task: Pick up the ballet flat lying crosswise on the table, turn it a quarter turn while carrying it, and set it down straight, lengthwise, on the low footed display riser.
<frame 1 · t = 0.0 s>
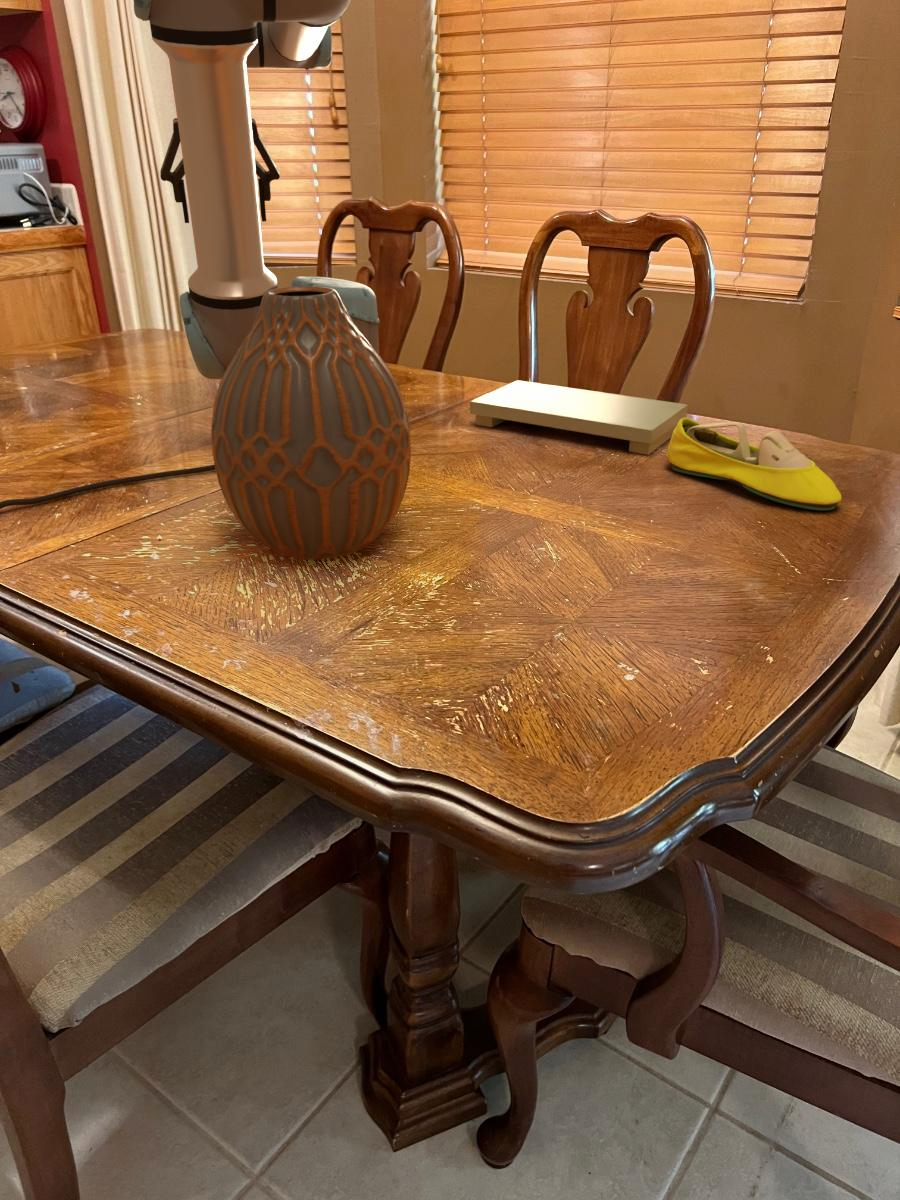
hand: (225, 219, 156), 28 cm above the table, tool tilted 20°, fingers open, 13 cm apart
vase: (320, 539, 99), on the table
low footed display riser: (576, 427, 136), on the table
ballet flat: (744, 488, 113), on the table
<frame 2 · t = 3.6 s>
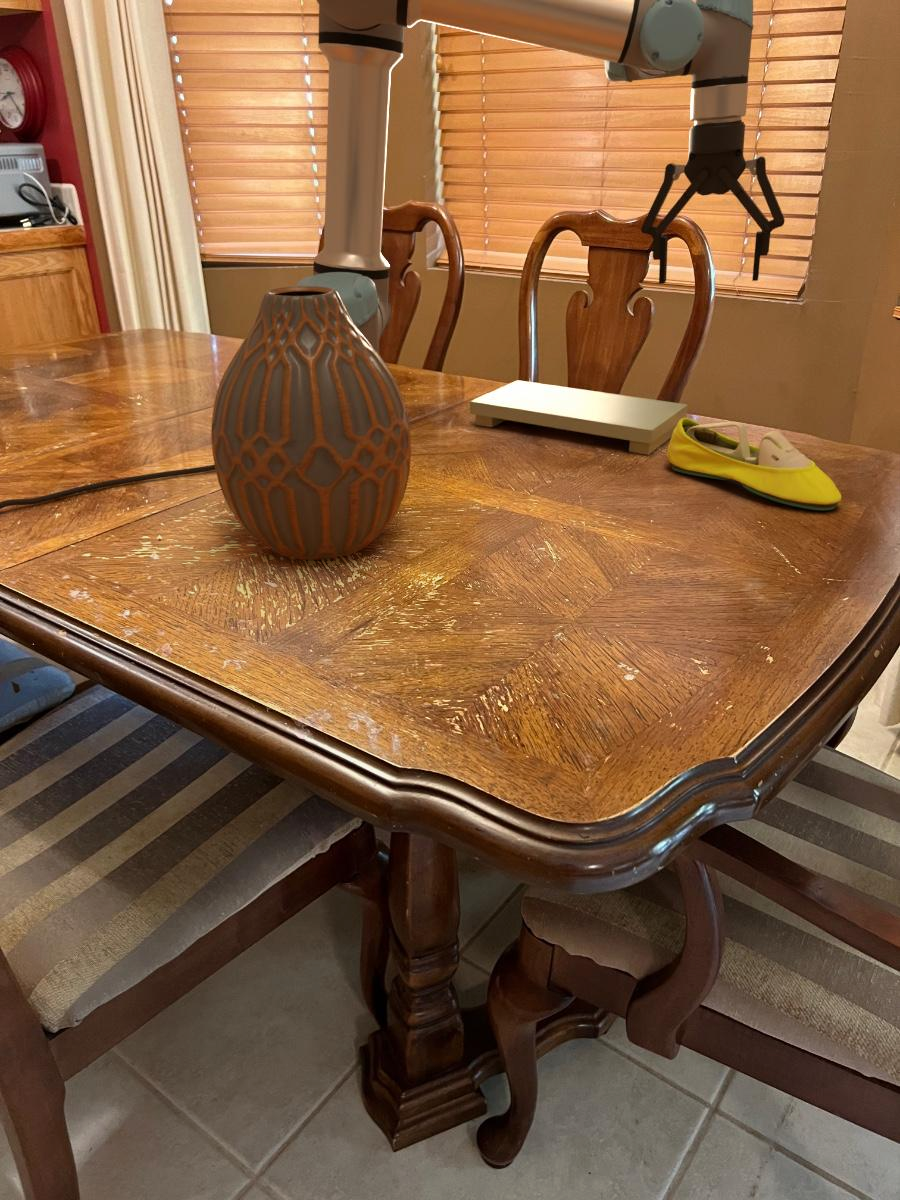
hand: (708, 281, 131), 21 cm above the table, tool pointing down, fingers open, 13 cm apart
nothing on the table moved.
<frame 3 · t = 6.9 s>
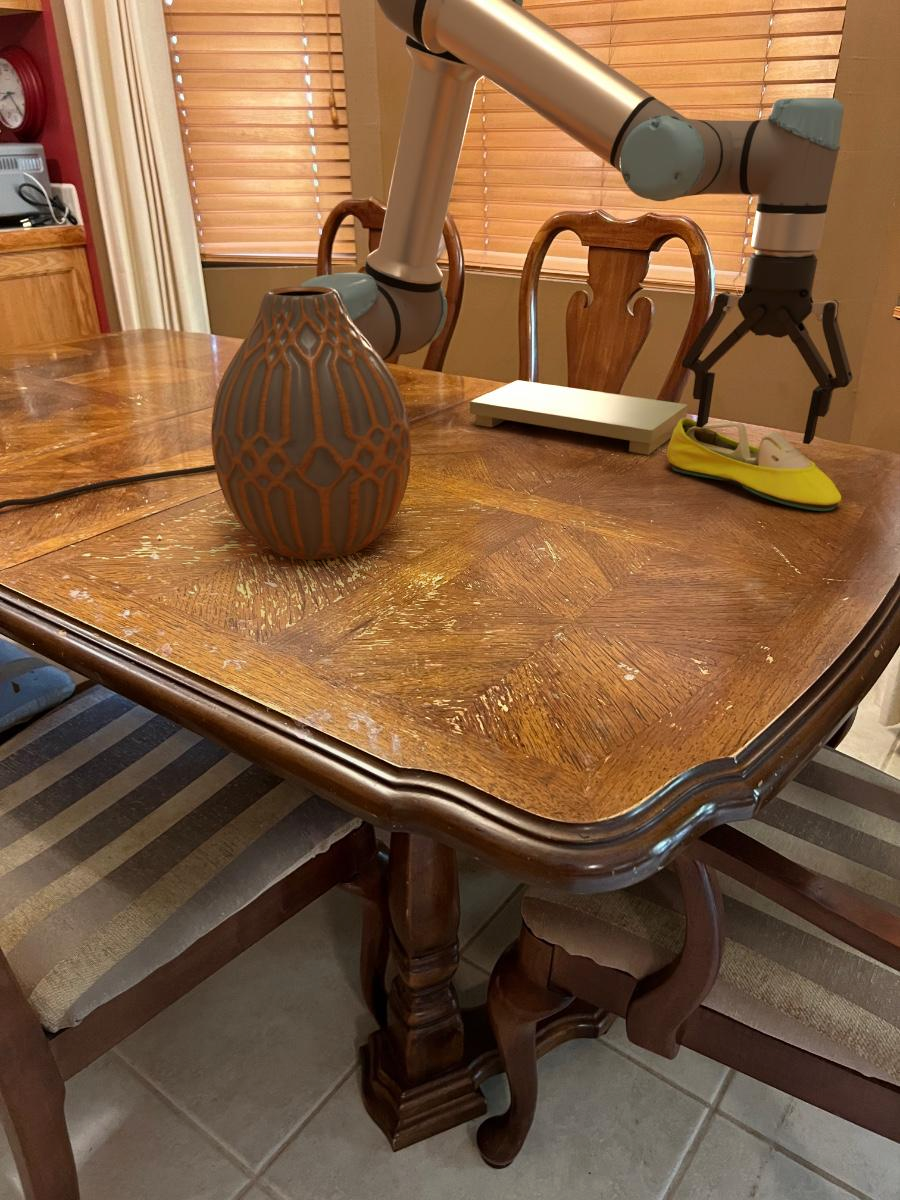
hand: (753, 432, 109), 7 cm above the table, tool pointing down, fingers open, 13 cm apart
ballet flat: (744, 489, 113), on the table, touching gripper
everything else where it was.
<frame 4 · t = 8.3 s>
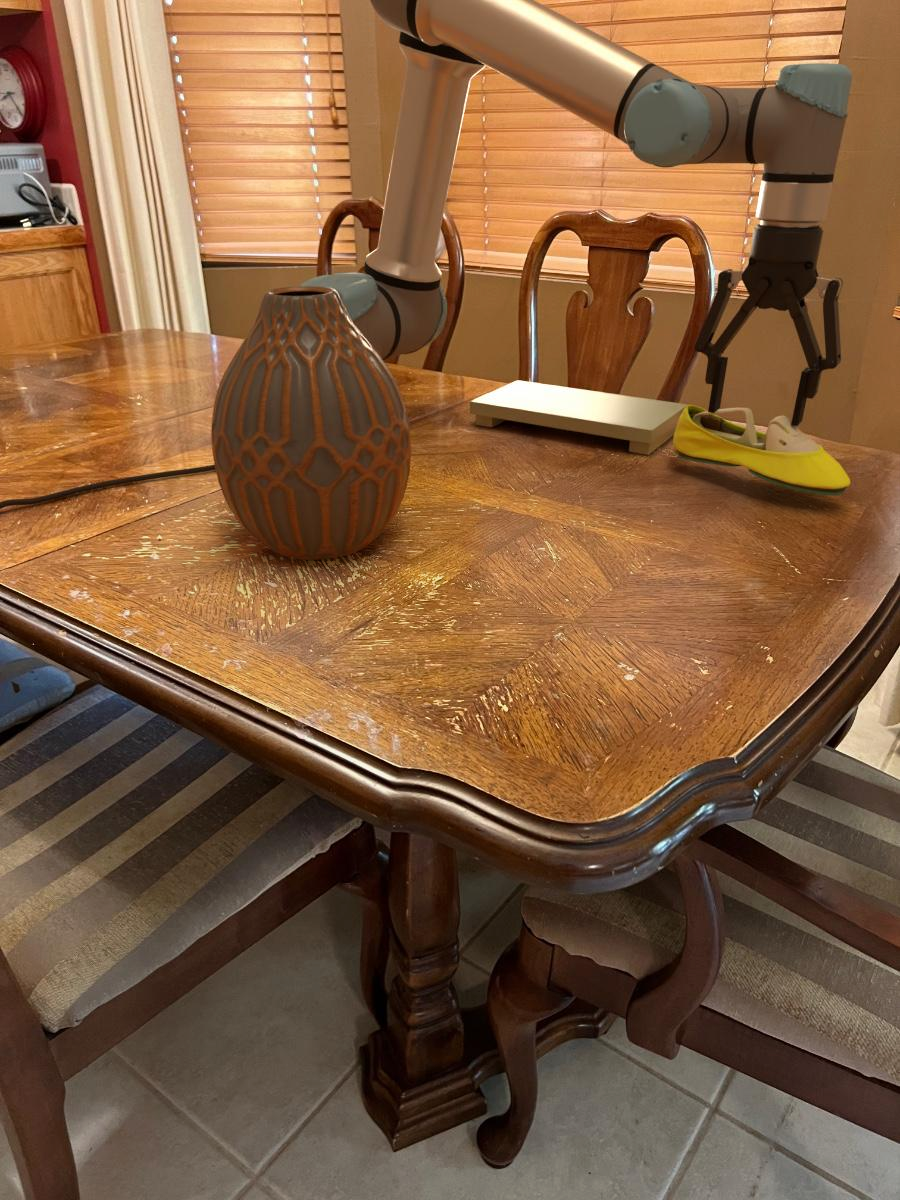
hand: (754, 416, 108), 9 cm above the table, tool pointing down, fingers closed on ballet flat, 10 cm apart
ballet flat: (752, 475, 111), point 2 cm above the table, touching gripper
everything else where it was.
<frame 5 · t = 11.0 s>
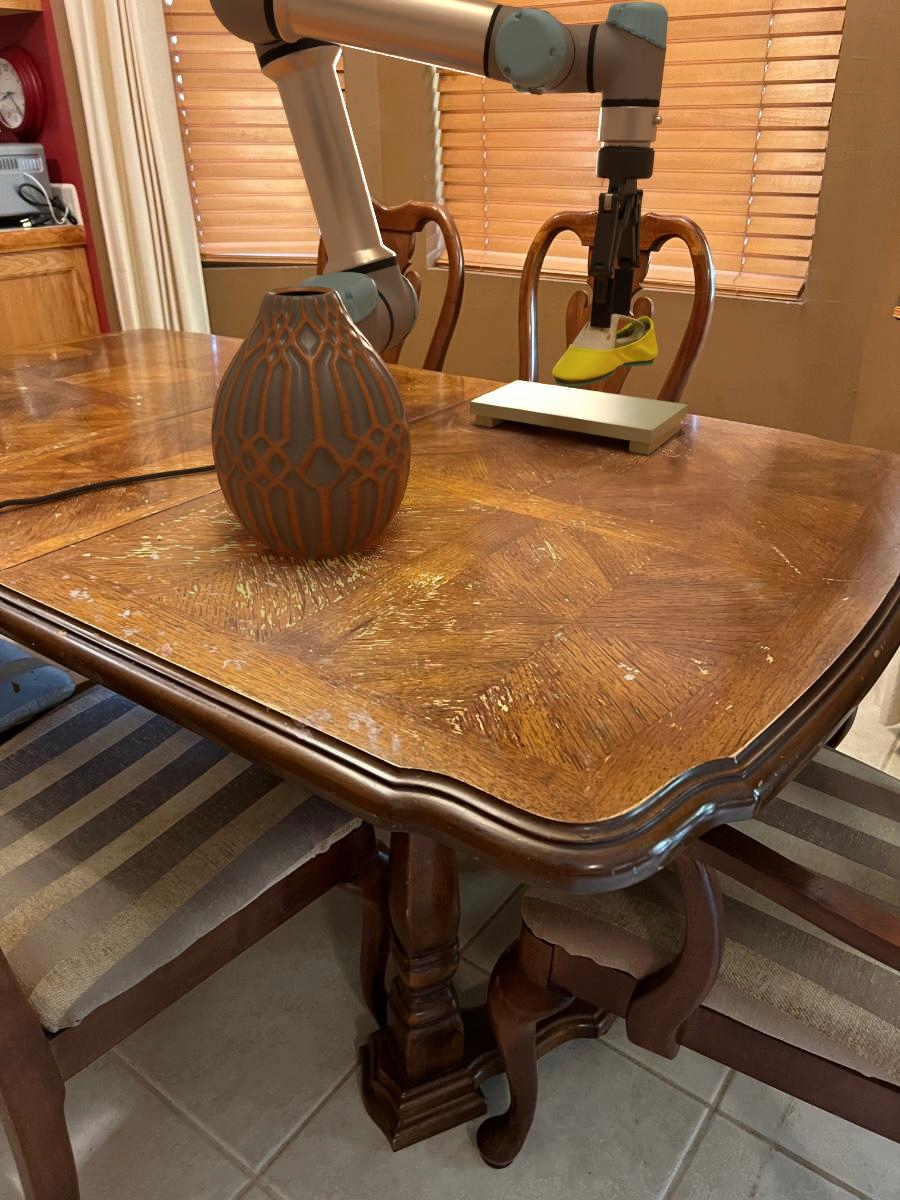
hand: (610, 320, 124), 17 cm above the table, tool pointing down, fingers closed on ballet flat, 10 cm apart
ballet flat: (603, 374, 126), point 10 cm above the table, touching gripper
everything else where it was.
when the fingers open (11 cm above the table, at t = 13.5 s): ballet flat stays where it is, resting on low footed display riser.
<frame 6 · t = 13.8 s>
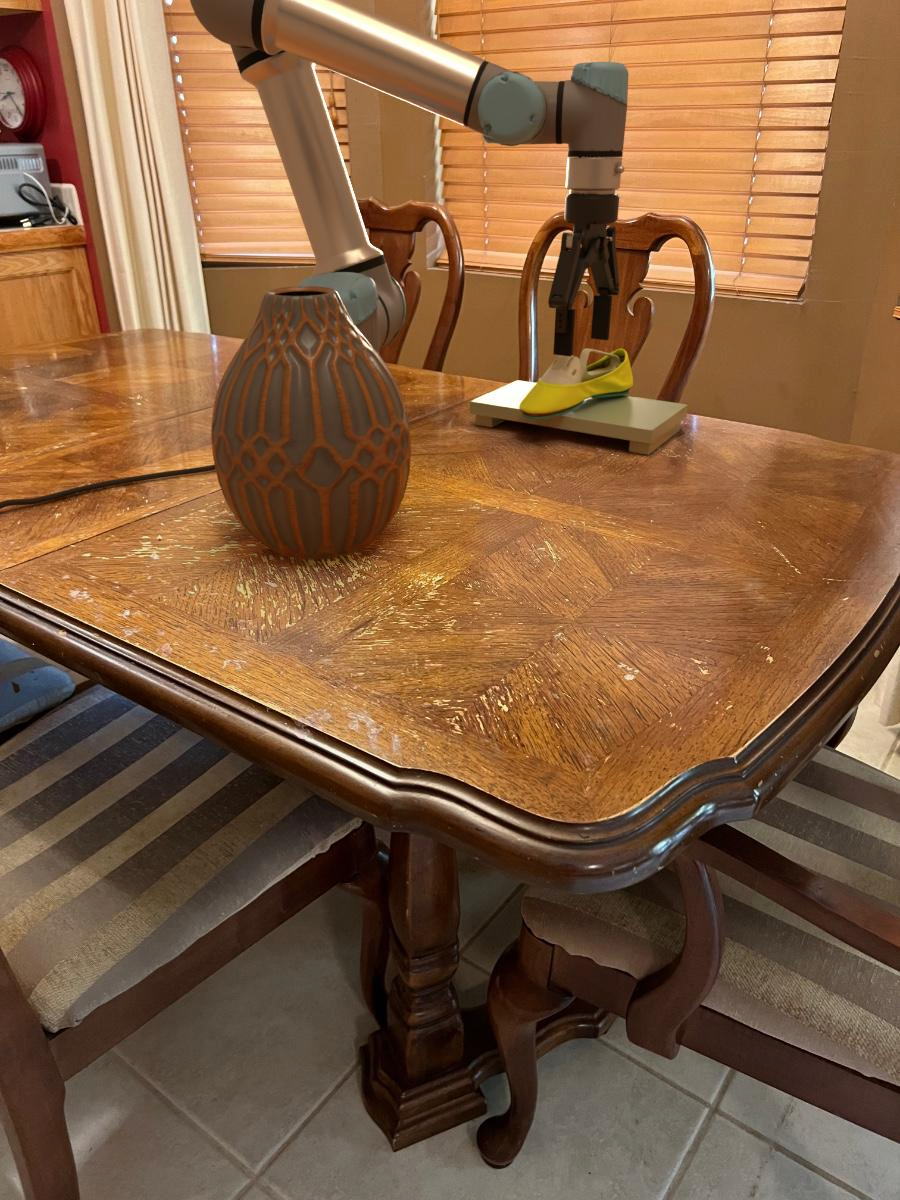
hand: (581, 347, 130), 13 cm above the table, tool pointing down, fingers open, 13 cm apart
ballet flat: (575, 405, 134), point 4 cm above the table, touching low footed display riser
everything else where it was.
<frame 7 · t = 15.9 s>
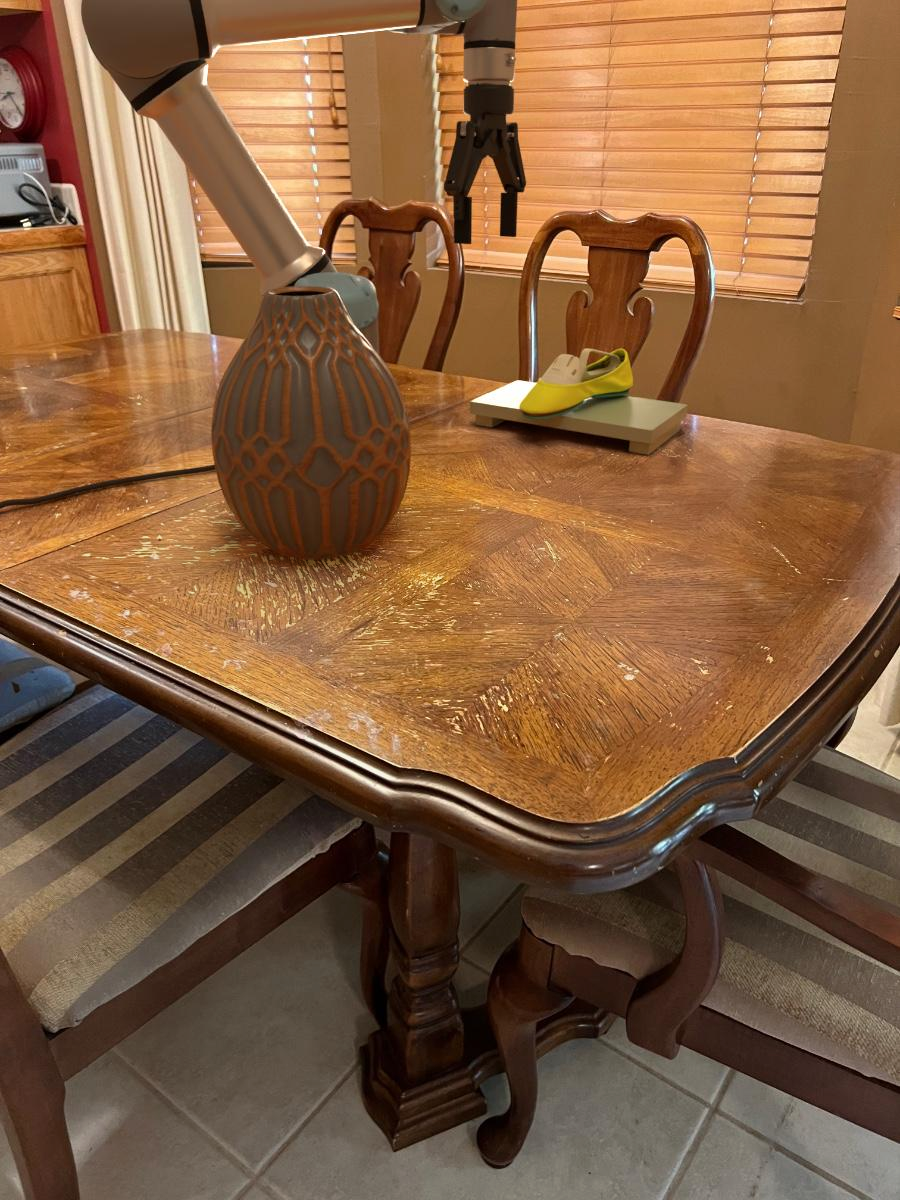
hand: (486, 240, 136), 26 cm above the table, tool pointing down, fingers open, 13 cm apart
nothing on the table moved.
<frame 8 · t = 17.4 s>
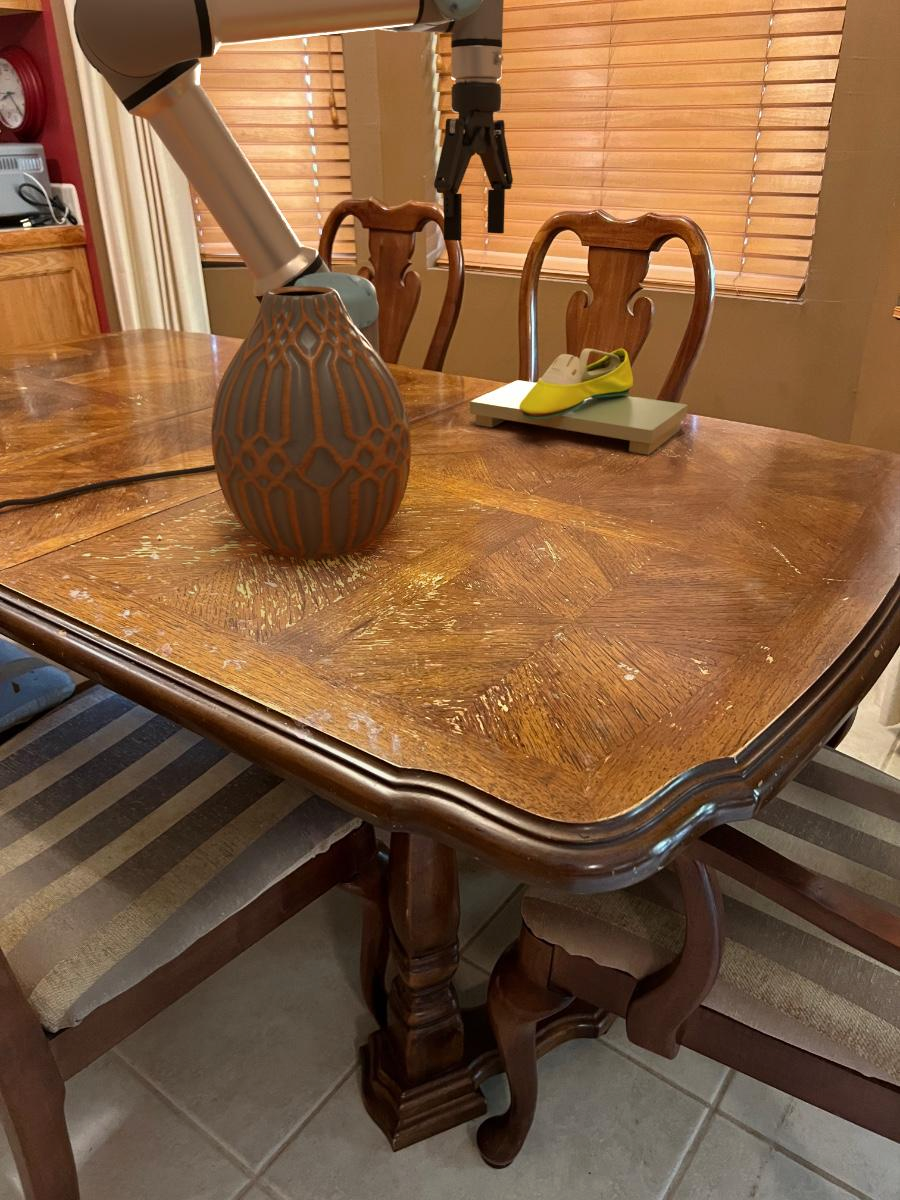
hand: (474, 236, 138), 27 cm above the table, tool pointing down, fingers open, 13 cm apart
nothing on the table moved.
at the end: ballet flat inside the target area on the low footed display riser (1.0 cm from its centre), point 3.8 cm above the low footed display riser's base; ballet flat tilted 0°; the gripper is holding nothing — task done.
